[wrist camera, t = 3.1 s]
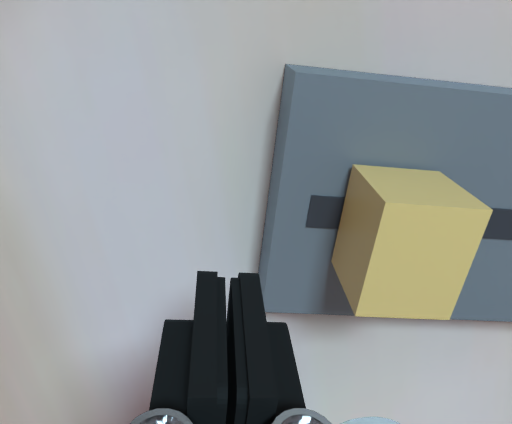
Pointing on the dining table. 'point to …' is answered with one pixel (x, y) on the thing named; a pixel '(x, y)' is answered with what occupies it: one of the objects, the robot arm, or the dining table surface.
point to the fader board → (384, 155)
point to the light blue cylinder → (371, 421)
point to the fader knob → (406, 242)
